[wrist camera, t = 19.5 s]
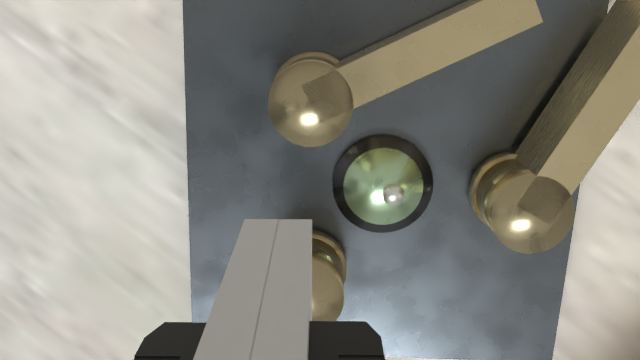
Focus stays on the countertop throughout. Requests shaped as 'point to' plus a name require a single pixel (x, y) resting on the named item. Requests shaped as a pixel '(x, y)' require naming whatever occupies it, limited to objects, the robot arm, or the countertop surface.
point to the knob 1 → (327, 277)
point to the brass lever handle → (563, 140)
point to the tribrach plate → (381, 169)
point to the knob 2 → (385, 67)
